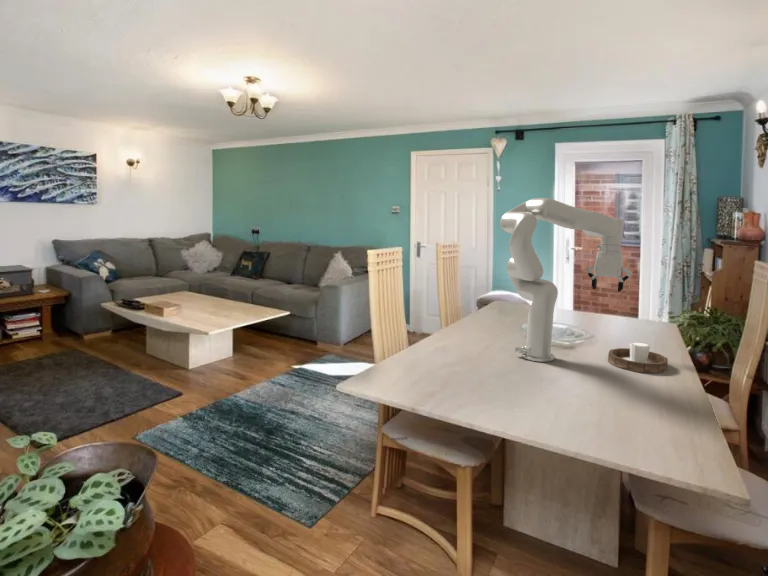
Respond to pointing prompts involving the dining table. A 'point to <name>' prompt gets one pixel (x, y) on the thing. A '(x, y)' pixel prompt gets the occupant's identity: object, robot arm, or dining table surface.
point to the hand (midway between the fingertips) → (606, 290)
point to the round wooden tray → (622, 360)
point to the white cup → (639, 352)
